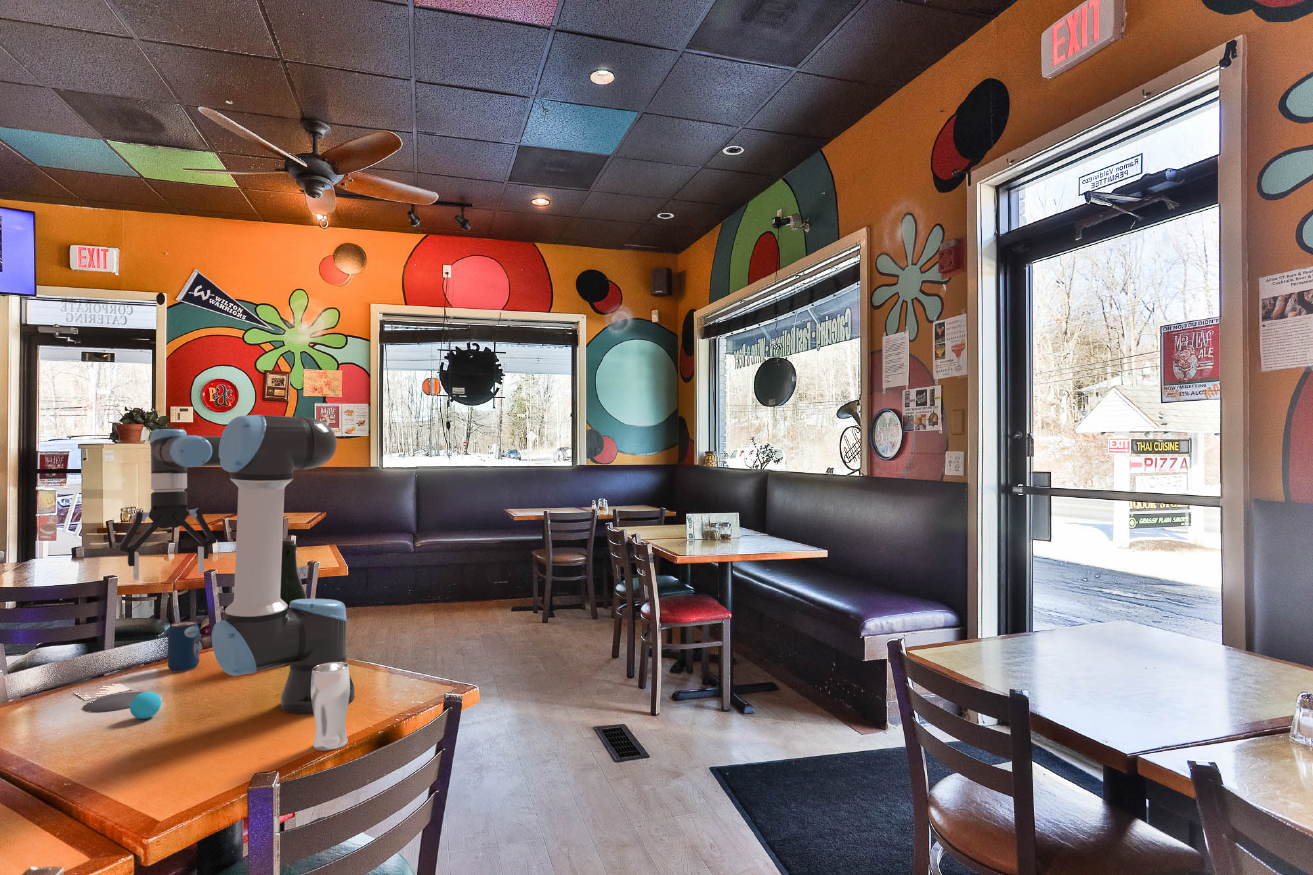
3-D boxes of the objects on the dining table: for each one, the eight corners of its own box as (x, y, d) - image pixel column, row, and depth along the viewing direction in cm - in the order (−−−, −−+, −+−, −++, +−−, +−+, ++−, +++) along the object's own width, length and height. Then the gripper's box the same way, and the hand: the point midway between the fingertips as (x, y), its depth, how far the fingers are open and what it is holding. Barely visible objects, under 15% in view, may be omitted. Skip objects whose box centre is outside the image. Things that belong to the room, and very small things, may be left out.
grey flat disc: (162, 699, 165) (162, 698, 165) (93, 716, 155) (93, 715, 155) (142, 688, 173) (142, 688, 173) (75, 704, 163) (75, 703, 163)
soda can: (202, 668, 190) (202, 622, 190) (171, 674, 185) (172, 627, 185) (195, 663, 194) (195, 618, 195) (164, 669, 189) (165, 623, 190)
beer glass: (324, 754, 134) (324, 674, 134) (303, 747, 138) (303, 668, 138) (357, 741, 140) (357, 664, 140) (336, 734, 143) (335, 659, 144)
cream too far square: (131, 690, 172) (131, 689, 172) (84, 700, 165) (84, 699, 165) (118, 683, 178) (118, 682, 178) (73, 693, 171) (73, 692, 171)
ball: (165, 716, 154) (165, 691, 154) (135, 724, 150) (135, 698, 150) (155, 711, 158) (155, 686, 158) (126, 719, 153) (126, 693, 153)
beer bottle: (288, 667, 190) (288, 542, 191) (256, 664, 193) (256, 541, 194) (317, 656, 200) (317, 538, 201) (287, 653, 203) (287, 537, 204)
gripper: (222, 488, 191) (222, 568, 190) (104, 492, 173) (104, 580, 173) (229, 488, 185) (229, 571, 185) (108, 493, 168) (108, 584, 167)
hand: (169, 575), depth 179 cm, fingers open, 13 cm apart
